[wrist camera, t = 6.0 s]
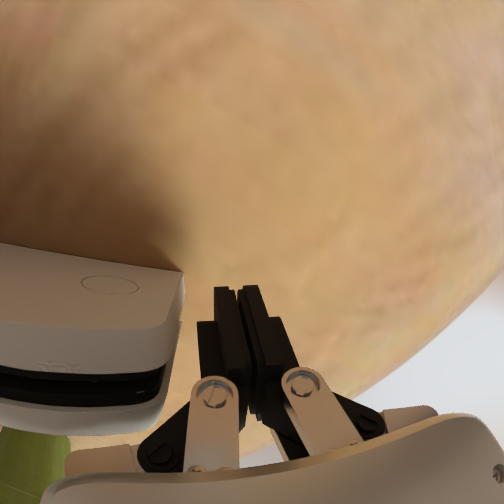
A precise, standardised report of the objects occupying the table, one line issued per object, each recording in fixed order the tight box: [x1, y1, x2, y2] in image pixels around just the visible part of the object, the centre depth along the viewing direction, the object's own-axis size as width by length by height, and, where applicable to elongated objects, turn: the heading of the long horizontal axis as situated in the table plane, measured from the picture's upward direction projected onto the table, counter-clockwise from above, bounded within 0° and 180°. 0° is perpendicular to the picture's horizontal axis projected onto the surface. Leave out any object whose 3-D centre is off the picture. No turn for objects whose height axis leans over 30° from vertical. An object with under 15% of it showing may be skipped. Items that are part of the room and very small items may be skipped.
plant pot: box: [0, 426, 71, 504], centre depth 15 cm, size 12×12×11 cm
